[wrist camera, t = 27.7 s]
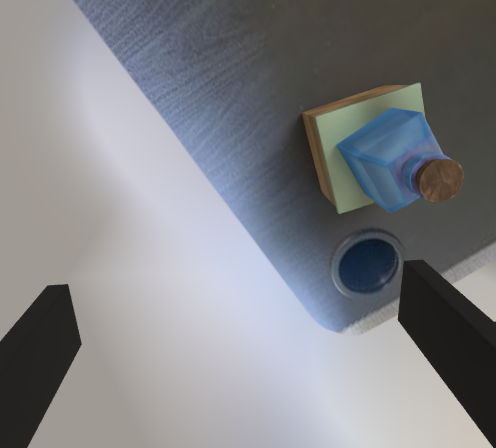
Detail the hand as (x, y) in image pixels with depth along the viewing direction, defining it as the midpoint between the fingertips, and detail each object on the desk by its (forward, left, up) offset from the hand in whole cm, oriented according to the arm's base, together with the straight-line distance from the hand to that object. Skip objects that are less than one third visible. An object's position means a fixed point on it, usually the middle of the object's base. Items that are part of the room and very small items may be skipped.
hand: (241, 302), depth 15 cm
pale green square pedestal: (+15, +1, -33) cm, 36 cm away
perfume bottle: (+15, +1, -25) cm, 29 cm away
